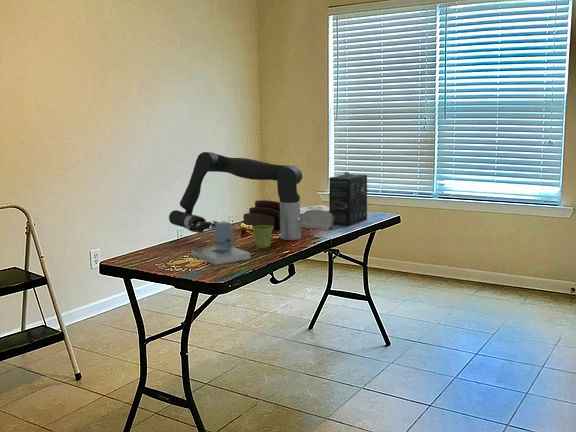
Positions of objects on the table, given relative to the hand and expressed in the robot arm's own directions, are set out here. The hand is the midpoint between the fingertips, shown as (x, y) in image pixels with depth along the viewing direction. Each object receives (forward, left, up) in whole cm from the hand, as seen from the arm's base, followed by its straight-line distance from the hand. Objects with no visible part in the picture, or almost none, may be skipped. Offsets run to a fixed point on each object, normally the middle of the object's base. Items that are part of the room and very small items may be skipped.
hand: (211, 228), depth 283 cm
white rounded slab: (-31, -69, -8) cm, 76 cm away
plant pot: (-24, +3, -7) cm, 25 cm away
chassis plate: (-11, +24, -7) cm, 27 cm away
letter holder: (-16, -35, -7) cm, 40 cm away
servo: (-8, +8, -7) cm, 13 cm away
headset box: (-56, -59, -7) cm, 82 cm away
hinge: (-42, -43, -7) cm, 61 cm away
